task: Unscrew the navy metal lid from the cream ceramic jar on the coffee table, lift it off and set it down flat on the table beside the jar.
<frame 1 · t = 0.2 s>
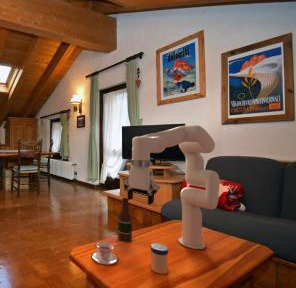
hand: (139, 201, 98), 30 cm above the table, tool pointing down, fingers open, 9 cm apart
jar lid: (159, 247, 97), point 10 cm above the table, screwed on, not yet turned
jar: (159, 269, 97), on the table
teacup: (104, 258, 105), on the table
beer bottle: (124, 239, 127), on the table
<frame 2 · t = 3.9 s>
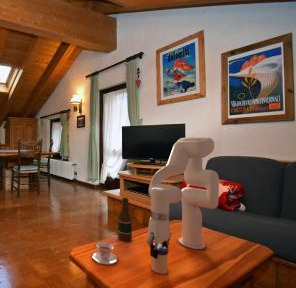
hand: (159, 254, 97), 7 cm above the table, tool pointing down, fingers closed on jar lid, 7 cm apart
jar lid: (159, 247, 96), point 10 cm above the table, screwed on, not yet turned, touching gripper
everything else where it was.
when the fingers open (6 cm above the table, at t = 5.9 s): jar lid stays where it is, point 10 cm above the table.
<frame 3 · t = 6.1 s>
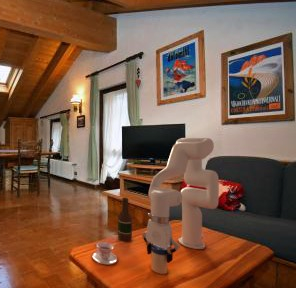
hand: (159, 257, 97), 5 cm above the table, tool pointing down, fingers open, 8 cm apart
jar lid: (159, 247, 97), point 10 cm above the table, turned 98° so far, risen 0.1 cm, still on its thread
everything else where it was.
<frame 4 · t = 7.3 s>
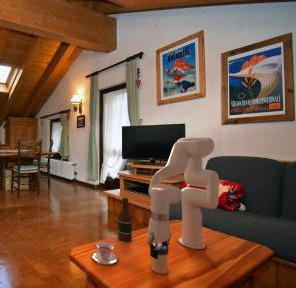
hand: (159, 254, 97), 7 cm above the table, tool pointing down, fingers closed on jar lid, 7 cm apart
jar lid: (159, 247, 97), point 10 cm above the table, turned 98° so far, risen 0.1 cm, still on its thread, touching gripper
everything else where it was.
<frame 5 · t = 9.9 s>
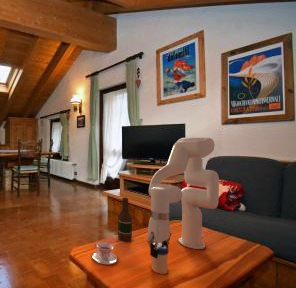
hand: (159, 254, 97), 7 cm above the table, tool pointing down, fingers closed on jar lid, 7 cm apart
jar lid: (159, 247, 96), point 10 cm above the table, turned 194° so far, risen 0.3 cm, still on its thread, touching gripper
everything else where it was.
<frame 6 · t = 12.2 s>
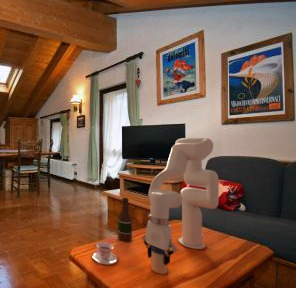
hand: (158, 259, 96), 4 cm above the table, tool pointing down, fingers closed on jar, jar lid, 6 cm apart
jar lid: (159, 246, 97), point 10 cm above the table, turned 293° so far, risen 0.4 cm, still on its thread, touching gripper
jar: (159, 269, 97), on the table, touching gripper
everything else where it was.
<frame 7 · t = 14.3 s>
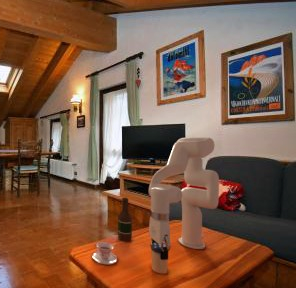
hand: (159, 254, 97), 7 cm above the table, tool pointing down, fingers closed on jar lid, 7 cm apart
jar lid: (159, 246, 97), point 10 cm above the table, turned 350° so far, risen 0.5 cm, still on its thread, touching gripper
jar: (159, 269, 97), on the table
everything else where it was.
when the fingers open (1 cm above the table, at t = 22.1 s): jar lid drops 3 cm, point 1 cm above the table.
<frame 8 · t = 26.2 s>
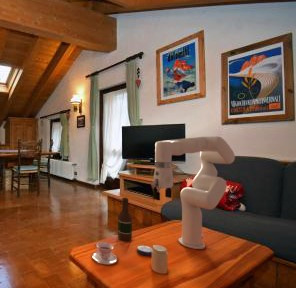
hand: (162, 198, 110), 28 cm above the table, tool pointing down, fingers open, 9 cm apart
jar lid: (144, 249, 111), point 1 cm above the table, off its thread
everything else where it was.
at the end: jar lid came off its thread; jar lid point 1.5 cm above the table; the gripper is holding nothing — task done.
